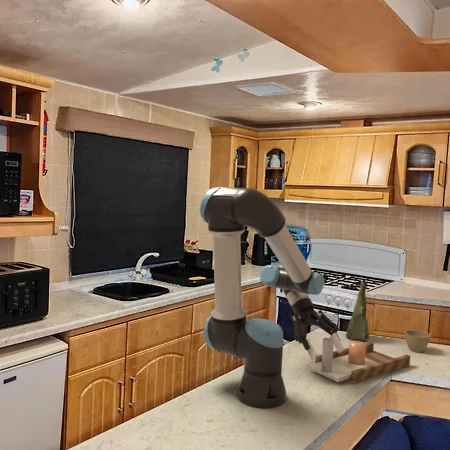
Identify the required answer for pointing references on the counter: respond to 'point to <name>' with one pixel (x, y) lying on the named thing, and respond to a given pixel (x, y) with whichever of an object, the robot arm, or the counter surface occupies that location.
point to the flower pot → (417, 340)
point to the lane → (382, 367)
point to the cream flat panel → (335, 364)
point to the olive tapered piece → (359, 318)
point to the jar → (357, 352)
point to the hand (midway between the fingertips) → (328, 354)
